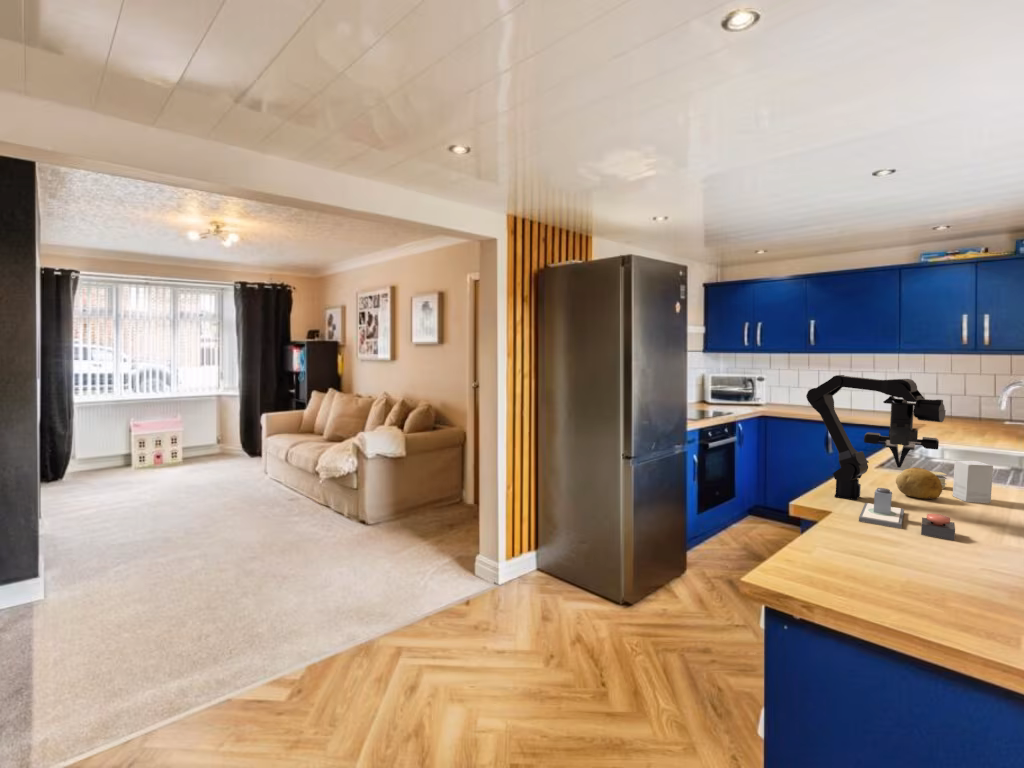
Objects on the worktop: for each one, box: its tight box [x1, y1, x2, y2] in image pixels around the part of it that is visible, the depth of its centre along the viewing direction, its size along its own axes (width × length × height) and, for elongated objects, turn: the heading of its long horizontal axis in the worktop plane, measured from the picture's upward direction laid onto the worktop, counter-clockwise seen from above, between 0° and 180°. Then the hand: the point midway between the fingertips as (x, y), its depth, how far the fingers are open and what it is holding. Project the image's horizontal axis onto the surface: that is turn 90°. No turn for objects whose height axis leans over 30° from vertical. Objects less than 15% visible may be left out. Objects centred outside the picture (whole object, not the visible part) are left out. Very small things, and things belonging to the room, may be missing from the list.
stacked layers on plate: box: [929, 470, 948, 488], centre depth 192 cm, size 10×9×6 cm
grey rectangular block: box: [873, 487, 893, 515], centre depth 158 cm, size 4×4×7 cm
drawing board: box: [858, 502, 905, 529], centre depth 158 cm, size 10×18×2 cm, turn 141°
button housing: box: [920, 517, 956, 541], centre depth 144 cm, size 7×7×3 cm
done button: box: [926, 513, 951, 526], centre depth 144 cm, size 5×5×4 cm
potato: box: [895, 467, 943, 500], centre depth 178 cm, size 10×12×10 cm
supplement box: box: [952, 460, 994, 504], centre depth 175 cm, size 7×7×13 cm
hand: (899, 467), depth 166 cm, fingers closed
